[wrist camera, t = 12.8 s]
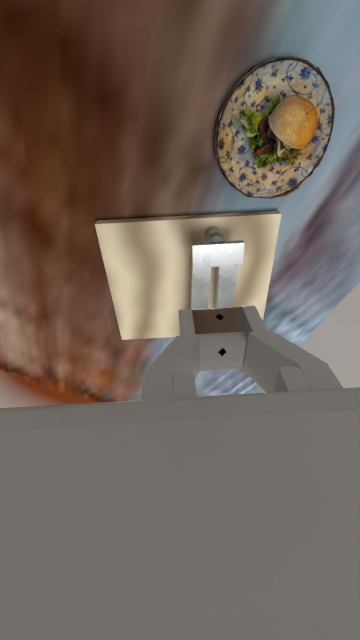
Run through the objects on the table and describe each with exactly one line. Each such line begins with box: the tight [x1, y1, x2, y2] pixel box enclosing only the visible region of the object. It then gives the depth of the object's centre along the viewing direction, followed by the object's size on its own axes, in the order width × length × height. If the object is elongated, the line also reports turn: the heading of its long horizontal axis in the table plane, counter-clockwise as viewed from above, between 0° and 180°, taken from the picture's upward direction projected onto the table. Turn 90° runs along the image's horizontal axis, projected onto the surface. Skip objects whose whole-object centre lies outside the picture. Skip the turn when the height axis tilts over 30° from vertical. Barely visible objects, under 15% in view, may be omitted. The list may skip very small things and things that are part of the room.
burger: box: [214, 57, 335, 199], centre depth 25 cm, size 12×12×8 cm
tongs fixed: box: [192, 226, 245, 308], centre depth 35 cm, size 16×6×5 cm, turn 3°
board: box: [95, 210, 281, 340], centre depth 37 cm, size 22×18×2 cm
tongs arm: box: [189, 255, 211, 310], centre depth 36 cm, size 13×3×3 cm, turn 0°
